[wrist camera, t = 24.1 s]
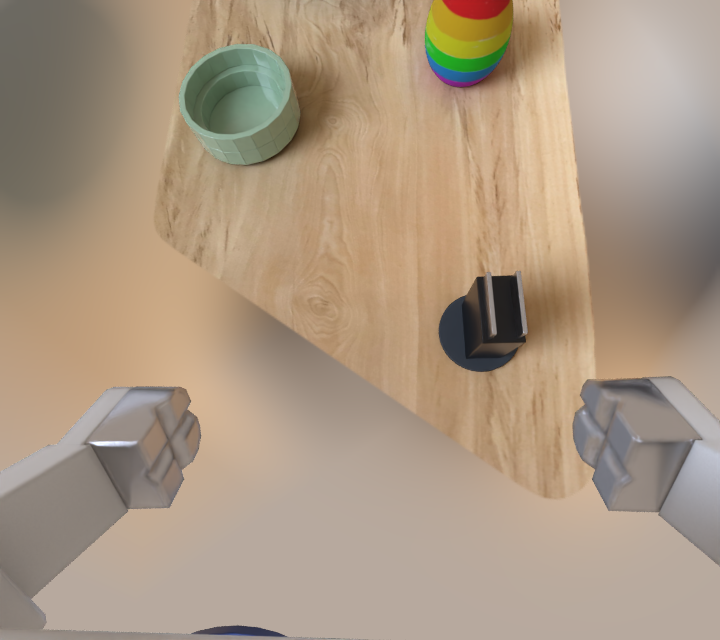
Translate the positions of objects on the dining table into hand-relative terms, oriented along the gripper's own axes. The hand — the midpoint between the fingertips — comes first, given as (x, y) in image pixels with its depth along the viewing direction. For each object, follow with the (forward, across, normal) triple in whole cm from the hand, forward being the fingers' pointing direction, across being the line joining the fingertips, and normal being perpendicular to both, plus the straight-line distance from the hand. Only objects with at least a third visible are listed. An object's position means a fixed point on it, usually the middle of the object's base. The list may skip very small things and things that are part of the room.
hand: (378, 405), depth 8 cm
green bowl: (+42, -14, +3) cm, 44 cm away
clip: (+24, +8, -14) cm, 29 cm away
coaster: (+25, +8, -14) cm, 29 cm away
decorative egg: (+45, +8, +6) cm, 47 cm away
